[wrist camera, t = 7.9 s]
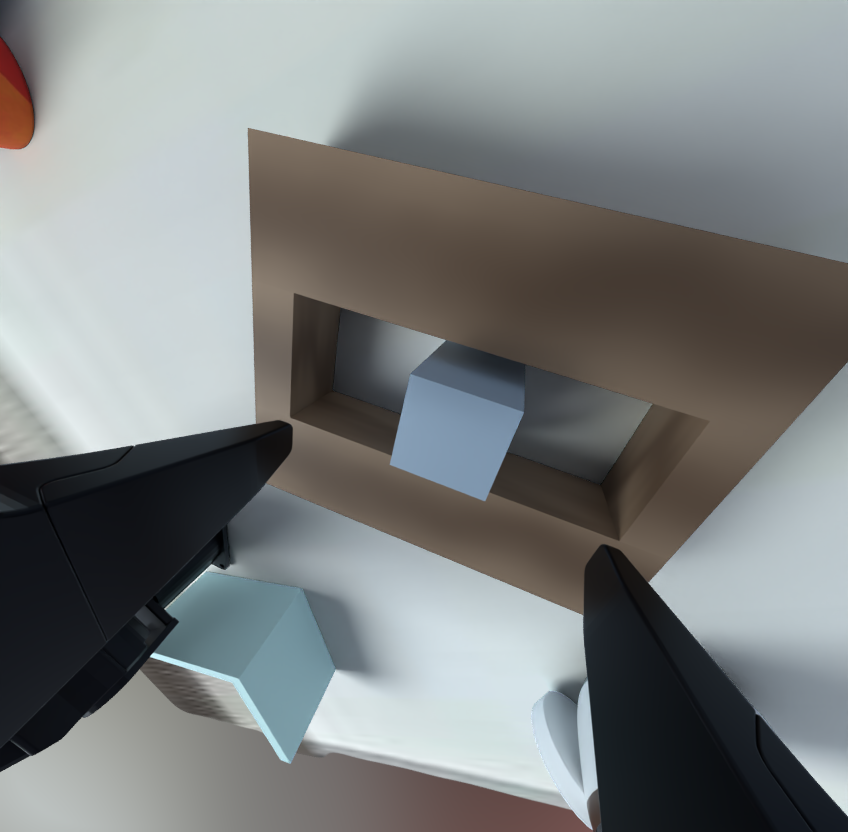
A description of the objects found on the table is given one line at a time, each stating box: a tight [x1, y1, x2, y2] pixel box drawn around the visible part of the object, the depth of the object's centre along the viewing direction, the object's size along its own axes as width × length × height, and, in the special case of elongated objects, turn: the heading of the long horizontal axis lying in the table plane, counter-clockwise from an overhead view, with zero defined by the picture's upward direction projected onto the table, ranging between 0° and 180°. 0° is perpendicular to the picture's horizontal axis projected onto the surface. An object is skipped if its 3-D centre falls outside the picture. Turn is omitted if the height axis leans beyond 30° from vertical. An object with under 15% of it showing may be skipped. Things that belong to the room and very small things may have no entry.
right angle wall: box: [150, 572, 336, 763], centre depth 30 cm, size 12×12×8 cm
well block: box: [248, 128, 848, 615], centre depth 15 cm, size 16×20×4 cm
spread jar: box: [531, 677, 776, 832], centre depth 18 cm, size 12×11×12 cm
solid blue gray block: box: [390, 340, 525, 501], centre depth 14 cm, size 4×4×6 cm
